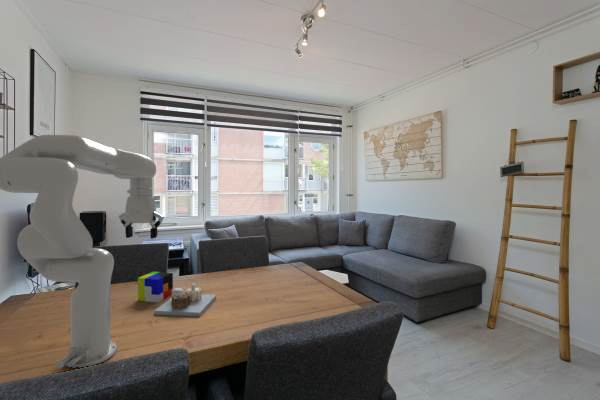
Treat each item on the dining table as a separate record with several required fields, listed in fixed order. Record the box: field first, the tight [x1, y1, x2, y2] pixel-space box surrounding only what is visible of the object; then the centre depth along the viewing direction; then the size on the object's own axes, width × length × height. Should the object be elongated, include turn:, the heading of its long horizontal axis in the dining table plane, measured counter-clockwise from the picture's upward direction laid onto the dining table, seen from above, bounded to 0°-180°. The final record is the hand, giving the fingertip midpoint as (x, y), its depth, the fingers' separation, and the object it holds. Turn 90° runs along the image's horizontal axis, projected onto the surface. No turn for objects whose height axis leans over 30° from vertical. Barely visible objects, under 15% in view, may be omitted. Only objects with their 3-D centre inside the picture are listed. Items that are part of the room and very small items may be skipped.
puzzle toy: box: [137, 271, 174, 303], centre depth 133 cm, size 10×10×10 cm
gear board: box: [153, 283, 217, 317], centre depth 124 cm, size 19×18×8 cm
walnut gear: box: [171, 293, 189, 309], centre depth 120 cm, size 6×6×4 cm
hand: (141, 237), depth 113 cm, fingers open, 9 cm apart
